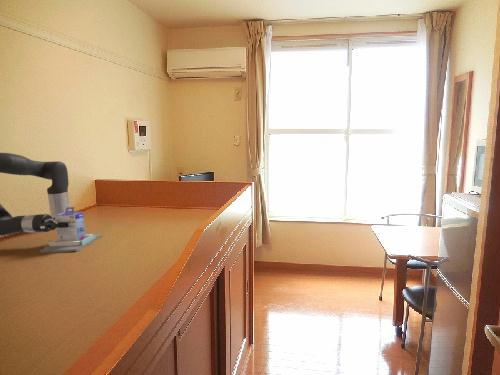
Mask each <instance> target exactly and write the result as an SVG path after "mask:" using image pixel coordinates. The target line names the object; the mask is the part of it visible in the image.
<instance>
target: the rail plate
mask: <svg viewBox="0 0 500 375" xmlns="http://www.w3.org/2000/svg"><path fill="white" fill-rule="evenodd" d="M101 236H102V237H103V234H95V233H92V234H91V233H90V234H86V238H85V239H83V240H81V241H61V242H58V241H49V242H48V246H46V247H44V248H42V249H40V250H39V252H40V253H41V254H42V253H47V254H48V253H68V252H69V253H72V252H71V251H77V252H78V250H79V251H80V250H82V249H84V248H85V247H88V244H89V245H90V244H92V243H93V241H94V242H95V241H97V240H98V238H99V237H100V238H102V237H101ZM100 238H99V239H100ZM96 239H97V240H96ZM91 242H92V243H91ZM83 247H84V248H83Z"/></svg>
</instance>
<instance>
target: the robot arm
mask: <svg viewBox="0 0 500 375" xmlns="http://www.w3.org/2000/svg"><path fill="white" fill-rule="evenodd" d="M1 173H2V174H8V175H13V176H14V175H16V176H33V177H37V178H42V179H46V180H50V181H51V185H50V186H49V187H47V188H46V189H47V190H46V191H47V200H48V205H49V213H50V214H49V213H48V214H47V213H43V214H42V213H41V214H29V215H17V216H13V215H12V214H11V213H10V212H9V211H8V210H7V209H6V208H5V207H4V205H2V204H1V203H0V236H2V237H3V236H7V235H11V234H15V233H33V234H34V233H47V232H50V231H55V230H57V229H58V228H67V227H69V224H68V222H59V223H58V222H57V221H56V220H55V215H57V214H60V213H65V212H66V208H67V207H72V206H71V204H70V199H69V191H68V190H69V189H68V188H69V172H68V168H67V166H66V164H65V163H64V162H62V161H55V160H54V161H40V160H39V161H38V160H32V159H31V158H28V157H26V156H24V155H21V154H20V155H19V154H15V153H11V152H0V174H1ZM67 211H72V209H68V210H67Z"/></svg>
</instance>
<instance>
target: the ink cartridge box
mask: <svg viewBox="0 0 500 375" xmlns="http://www.w3.org/2000/svg"><path fill="white" fill-rule="evenodd" d="M68 209H71V211H67V210H68ZM74 211H75V207H73V206H71V207H67V208H66V212H65V213H60V214H57V215H55V220H56V221H57V222H58V223H59V222H68V224H69V227H67V228H58V229H56V237H57V238H56V239H57V242H61V241H81V240H83V239H85V238H86V235H87V234H86V226H85V218H84V212H83V211H82V212H81V211H80V212H79V211H78V212H76V211H75V212H74Z"/></svg>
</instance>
